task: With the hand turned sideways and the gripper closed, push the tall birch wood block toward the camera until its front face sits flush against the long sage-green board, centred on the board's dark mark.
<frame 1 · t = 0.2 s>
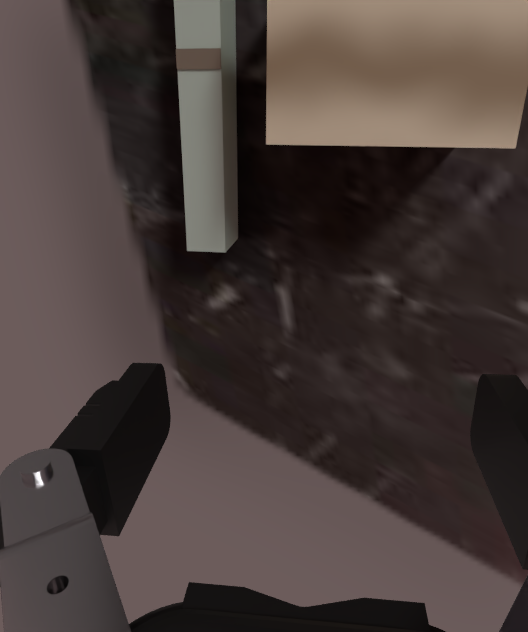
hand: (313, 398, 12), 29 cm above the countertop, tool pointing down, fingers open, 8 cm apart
birch block: (378, 66, 34), on the countertop
sage board: (216, 67, 36), on the countertop
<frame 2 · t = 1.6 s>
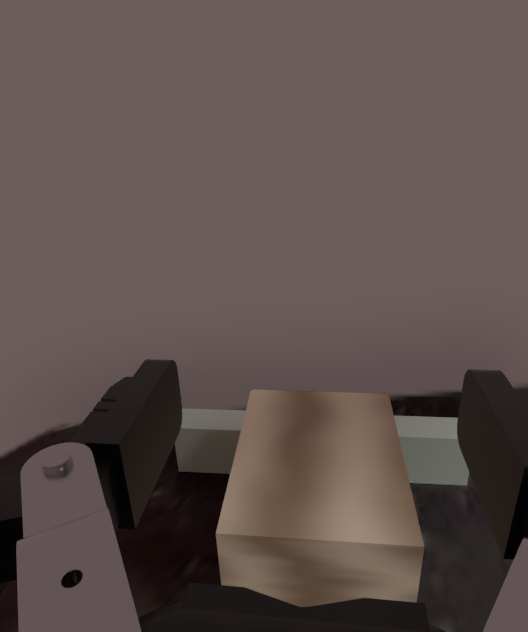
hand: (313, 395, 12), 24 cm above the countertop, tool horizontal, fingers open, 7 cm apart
birch block: (316, 585, 34), on the countertop
sage board: (317, 466, 44), on the countertop
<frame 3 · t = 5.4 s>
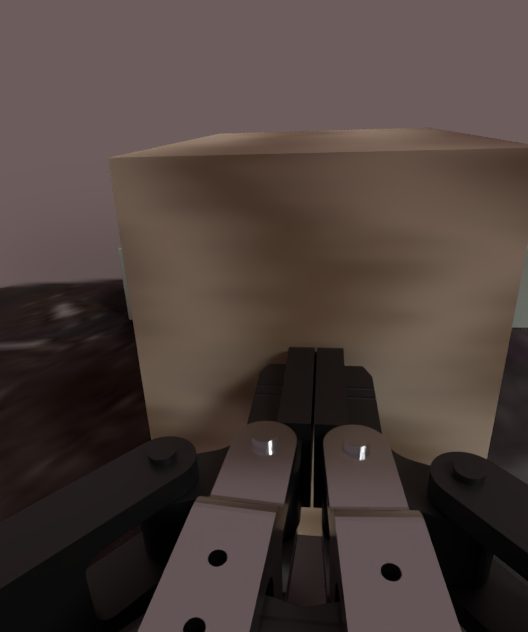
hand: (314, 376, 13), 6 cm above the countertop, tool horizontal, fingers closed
birch block: (315, 419, 22), on the countertop, touching gripper
sage board: (319, 314, 32), on the countertop
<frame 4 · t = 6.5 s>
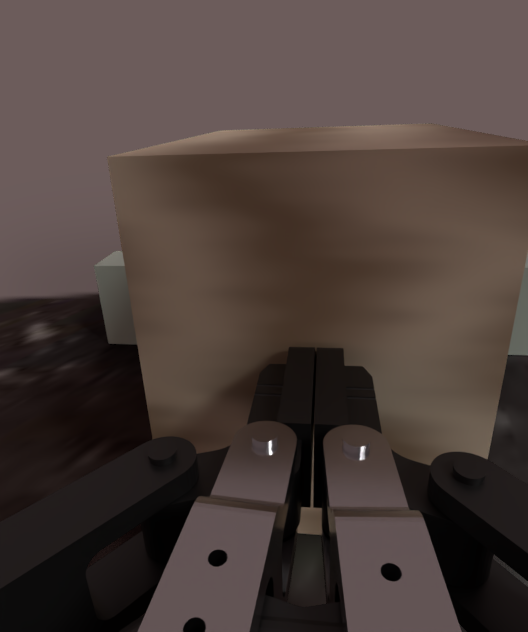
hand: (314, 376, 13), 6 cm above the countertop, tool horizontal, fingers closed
birch block: (317, 416, 22), on the countertop, touching gripper, sage board
sage board: (322, 338, 29), on the countertop
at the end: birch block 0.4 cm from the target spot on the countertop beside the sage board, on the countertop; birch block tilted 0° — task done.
